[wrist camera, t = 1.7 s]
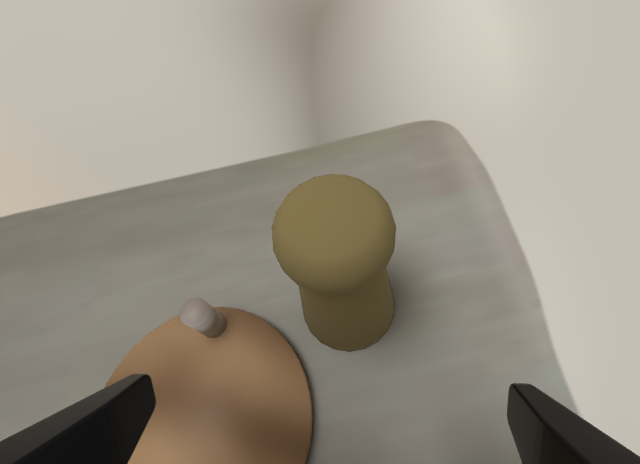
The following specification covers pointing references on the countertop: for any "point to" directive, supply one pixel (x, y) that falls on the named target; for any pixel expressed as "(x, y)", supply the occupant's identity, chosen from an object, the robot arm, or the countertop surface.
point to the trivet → (221, 391)
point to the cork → (338, 258)
